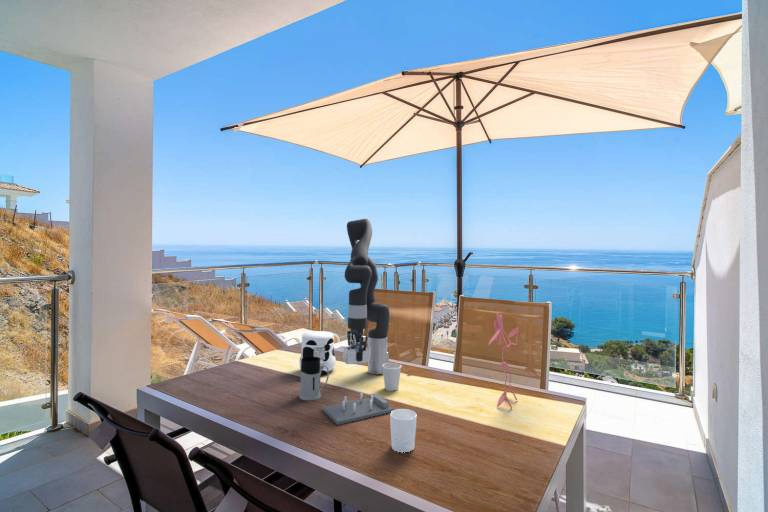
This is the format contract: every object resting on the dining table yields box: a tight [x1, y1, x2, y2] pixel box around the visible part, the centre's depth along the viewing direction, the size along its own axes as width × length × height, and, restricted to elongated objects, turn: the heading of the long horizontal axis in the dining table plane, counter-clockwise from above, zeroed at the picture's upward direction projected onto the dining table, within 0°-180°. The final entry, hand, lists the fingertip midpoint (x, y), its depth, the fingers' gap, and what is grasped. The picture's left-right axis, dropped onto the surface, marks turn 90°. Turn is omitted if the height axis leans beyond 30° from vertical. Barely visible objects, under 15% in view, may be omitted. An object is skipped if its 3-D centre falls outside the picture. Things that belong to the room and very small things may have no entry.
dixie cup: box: [382, 362, 403, 392], centre depth 163 cm, size 8×8×10 cm
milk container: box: [299, 330, 337, 375], centre depth 186 cm, size 17×17×18 cm
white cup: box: [389, 408, 417, 454], centre depth 114 cm, size 8×8×10 cm
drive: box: [342, 345, 369, 365], centre depth 150 cm, size 9×5×6 cm, turn 117°
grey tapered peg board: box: [321, 392, 395, 426], centre depth 140 cm, size 22×14×5 cm, turn 120°
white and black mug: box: [298, 357, 330, 401], centre depth 152 cm, size 9×14×15 cm, turn 55°
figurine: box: [488, 312, 520, 409], centre depth 151 cm, size 15×26×35 cm, turn 149°
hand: (356, 359), depth 150 cm, fingers closed on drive, 5 cm apart
